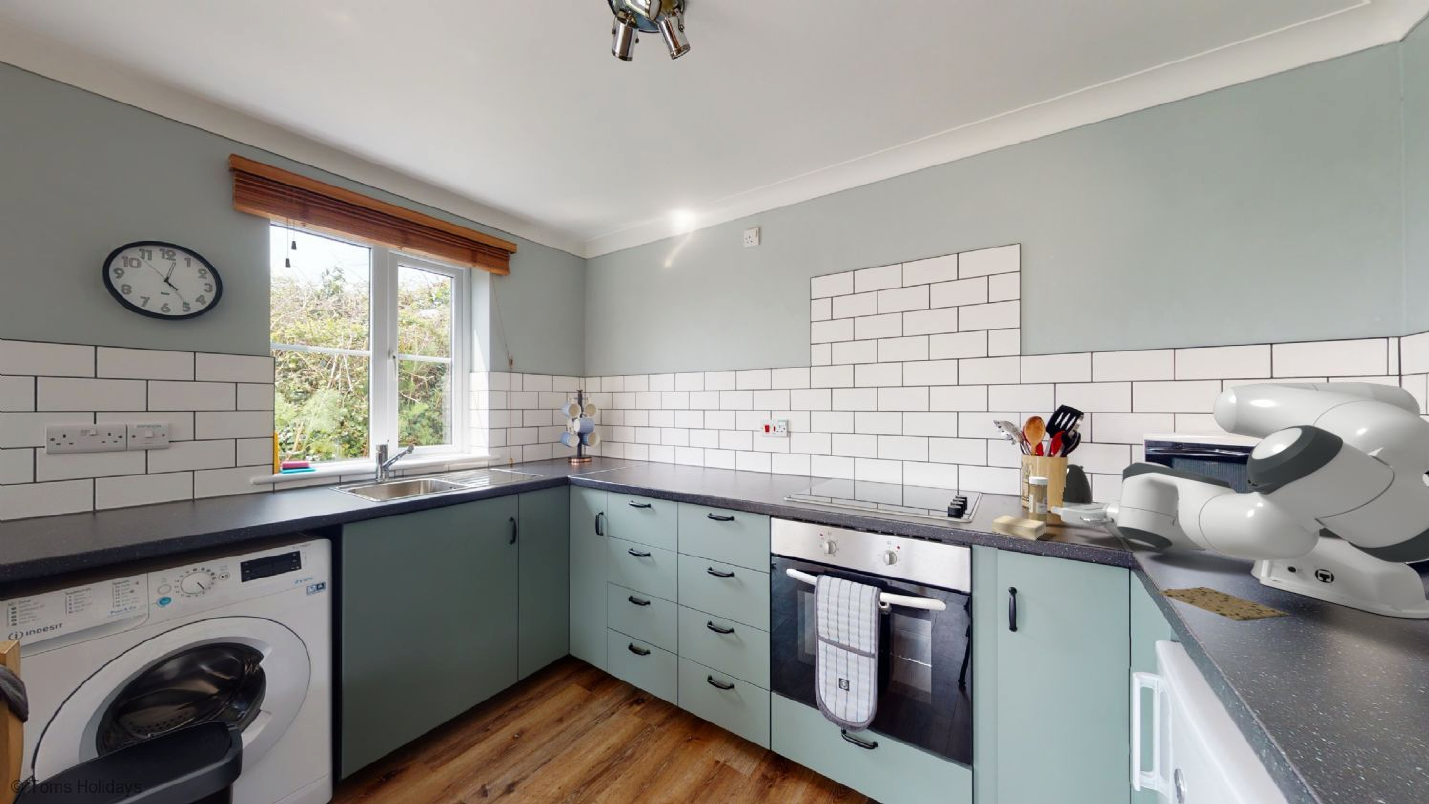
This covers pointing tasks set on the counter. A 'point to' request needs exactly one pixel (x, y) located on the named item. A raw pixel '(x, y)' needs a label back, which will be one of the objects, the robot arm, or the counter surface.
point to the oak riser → (1019, 527)
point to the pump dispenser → (1076, 487)
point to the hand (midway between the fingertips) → (1063, 508)
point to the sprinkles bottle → (1038, 499)
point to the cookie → (1222, 603)
